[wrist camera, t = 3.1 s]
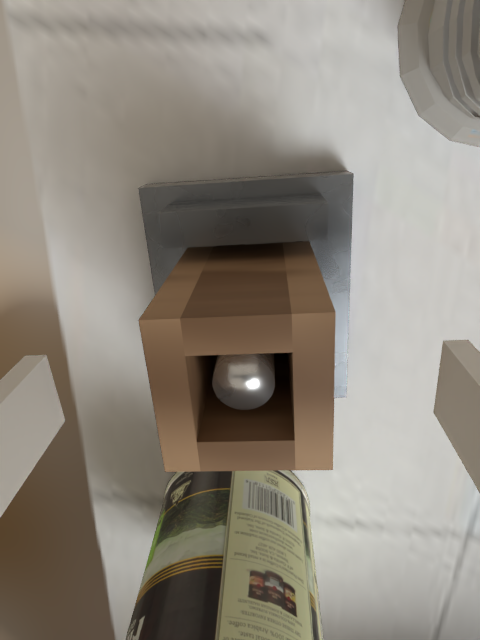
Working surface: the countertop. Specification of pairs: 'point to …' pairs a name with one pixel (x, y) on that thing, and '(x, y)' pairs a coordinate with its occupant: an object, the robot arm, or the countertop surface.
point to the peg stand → (257, 228)
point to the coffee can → (230, 561)
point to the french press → (443, 64)
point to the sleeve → (243, 338)
